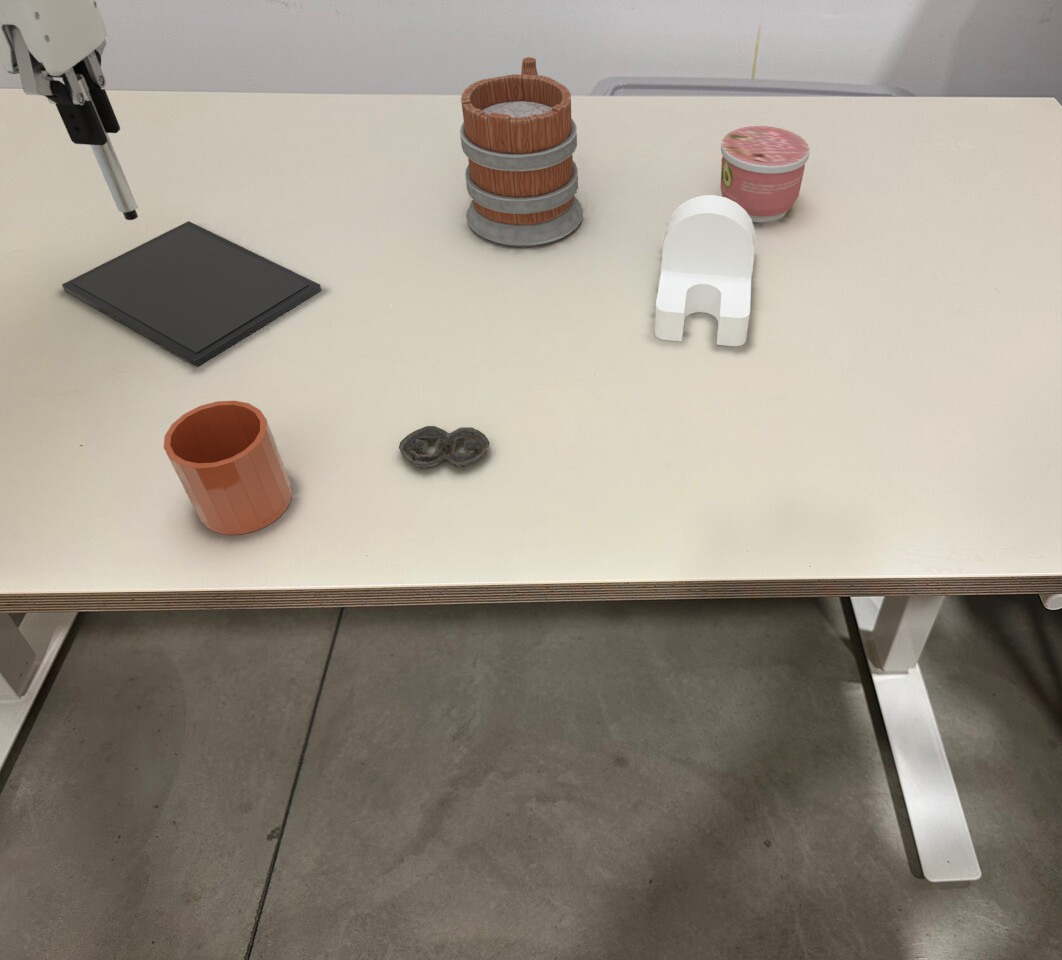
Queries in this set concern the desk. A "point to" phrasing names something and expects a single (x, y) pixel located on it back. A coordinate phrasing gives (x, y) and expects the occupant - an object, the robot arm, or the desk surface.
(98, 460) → the desk surface
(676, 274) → the u-slot stand
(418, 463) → the corroded twin loop
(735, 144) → the container
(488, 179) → the mug
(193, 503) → the holder
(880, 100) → the desk surface
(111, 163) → the stylus
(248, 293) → the tablet
